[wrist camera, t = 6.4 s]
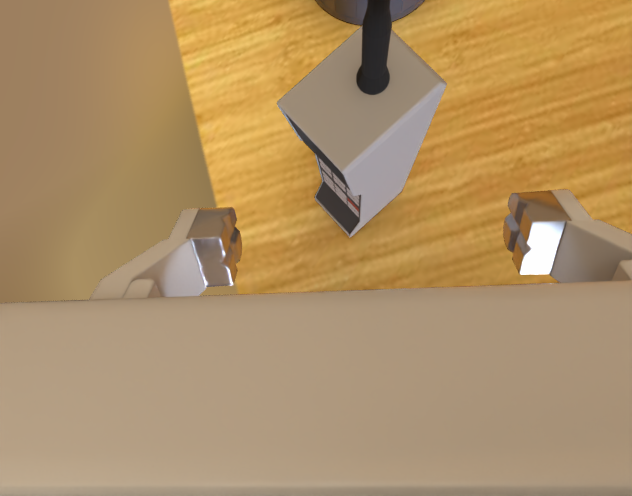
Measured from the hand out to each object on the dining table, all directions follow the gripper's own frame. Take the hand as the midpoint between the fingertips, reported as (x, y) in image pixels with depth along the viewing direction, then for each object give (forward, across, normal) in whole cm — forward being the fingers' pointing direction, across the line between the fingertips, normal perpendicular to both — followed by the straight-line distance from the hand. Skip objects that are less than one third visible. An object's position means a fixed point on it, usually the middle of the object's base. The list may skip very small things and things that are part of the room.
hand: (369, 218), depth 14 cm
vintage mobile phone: (+17, 0, +10) cm, 19 cm away
